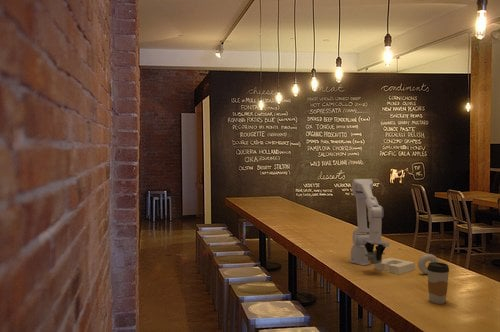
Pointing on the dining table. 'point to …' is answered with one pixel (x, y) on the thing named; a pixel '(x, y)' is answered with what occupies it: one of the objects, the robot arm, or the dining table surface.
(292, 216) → the dining table surface
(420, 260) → the donut
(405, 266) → the chassis
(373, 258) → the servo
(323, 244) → the dining table surface
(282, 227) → the dining table surface
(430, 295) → the coffee cup
